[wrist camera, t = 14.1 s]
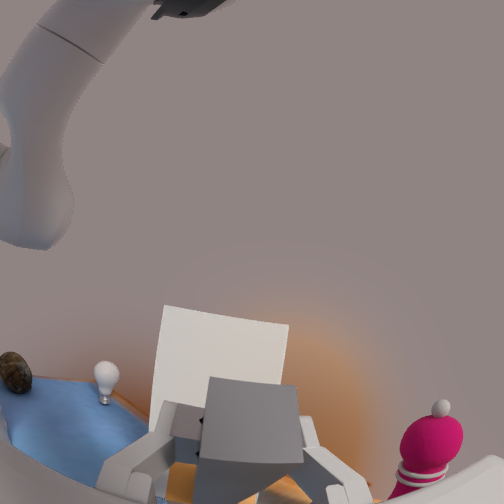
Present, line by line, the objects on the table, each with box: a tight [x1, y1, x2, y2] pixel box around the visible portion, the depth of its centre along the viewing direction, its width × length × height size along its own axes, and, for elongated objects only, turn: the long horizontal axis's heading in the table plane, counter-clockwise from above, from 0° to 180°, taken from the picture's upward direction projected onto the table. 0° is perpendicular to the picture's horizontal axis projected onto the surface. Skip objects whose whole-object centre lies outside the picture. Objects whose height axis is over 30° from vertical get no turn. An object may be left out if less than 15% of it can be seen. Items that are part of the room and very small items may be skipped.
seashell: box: [0, 352, 32, 393], centre depth 36 cm, size 11×9×8 cm
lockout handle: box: [165, 376, 304, 504], centre depth 12 cm, size 6×22×4 cm
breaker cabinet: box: [149, 305, 289, 504], centre depth 32 cm, size 14×13×26 cm
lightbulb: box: [94, 361, 120, 405], centre depth 50 cm, size 6×6×11 cm
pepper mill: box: [387, 399, 463, 500], centre depth 13 cm, size 7×7×20 cm
